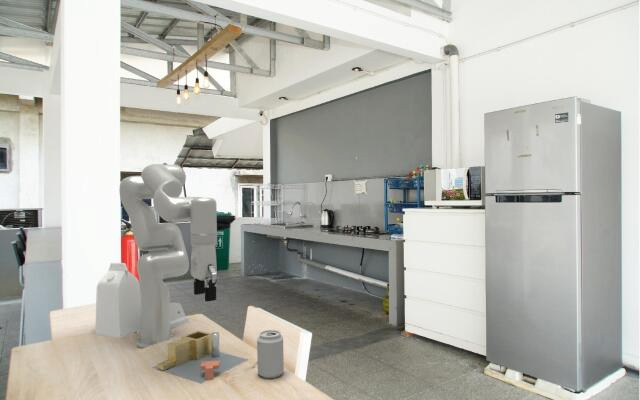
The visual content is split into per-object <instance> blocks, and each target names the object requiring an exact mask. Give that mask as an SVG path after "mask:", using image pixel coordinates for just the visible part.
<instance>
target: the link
mask: <svg viewBox="0 0 640 400" xmlns="http://www.w3.org/2000/svg"><path fill="white" fill-rule="evenodd" d="M211 334H212V332H211V333H210V332H207V331H201V330H196V331H192V332H191V333H188V334H185V335H182V336H181V337H180V339H178V340H174V341H171V342H169V343H167V345H166V346H167V347H166V348H167V349H166V350H167V359H166V360H163V361H161V362H158V363H157V364H156V366H157V368H158V369H161V370H165V369H168V368H170V367H172V366H175V367H176V366H178V365H181V364H183V363H185V362H188V361H190V360H192V359H194V360H199V359H201V358H203V357H206V356H208V355H210V354H212V342H211ZM158 369H157V370H158ZM161 370H160V371H161Z"/></svg>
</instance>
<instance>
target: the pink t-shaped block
mask: <svg viewBox="0 0 640 400" xmlns="http://www.w3.org/2000/svg"><path fill="white" fill-rule="evenodd" d="M219 367H220V361H205V362H202V363H201V366H200V370H205V380H207V381H209V380H211V381H212V380H213V379H214V378H215V377H214V375H213V369H219Z"/></svg>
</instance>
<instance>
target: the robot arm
mask: <svg viewBox="0 0 640 400" xmlns="http://www.w3.org/2000/svg"><path fill="white" fill-rule="evenodd" d="M140 174H141V175H130V176H127V177H125V178H123V179H122V180H121V182H120V183H119V189H118V190H119V198H120V202H121V204H122V206H123V208H124V210H125V212H126V213H127V216H128V217H129V221H130V226H131V229H132V233H133V238H134V241H135V244H136V247H137V249H138V250H139V251H141V252H143V251H144V252H148V253H145V254H143V255H141V256H140V257H139V258H137V259H138V260H137V262H136V269H137V274H138V275H137V276H138V280H139V283H140V294H141V329H140V330H138V331H136V333H137V334H139V335H140V338H139V339H138V340H137V341H136V345H137V347H139V348H141V349H145V348H147V347H150V346H154V345H155V344H156V345H157V344H159V343H162V342H166V341H168V340H170V339H172V338H175V337H176V336H175V335H174V334H172V332H171V331H172V329H171V325H170V303H171V294H170V289H169V287H168V286H167V284H166V283H165V282H164V279H169V278H174V277H175V278H176V277H181V276H183V275H185V274H187V272H188V271H189V268H190V275H191V277H192V278H193V295H195V296H197V295H204V301H205V302H207V303H208V302H213V301H217V280H218V279H217V277H218V273H217V272H218V271H217V252H216V251H217V250H216V245H218V230H217V229H218V225H217V224H218V223H217V221H218V220H217V217H218V215H217V214H218V213H217V211H218V210H217V201H216V199H215V198H213V197H203V196H201V197H200V196H181V194H182V191H183V187H184V186H185V184H186V182H187V181H186V179H187V178H186V177H187V176H186V172H185V170H184V169H183V168H182V167H181V165H180V166H179V165H177V164H162V163H161V164H159V163H154V164H149V165H147V166H145V167H144V168H143V169H142V171H141V173H140ZM143 200H152V204H153V207H154V210H155V212H156V214H157V215H159V217H160V218H162V219H163V221H165V222H161V223H160V222H158V221H157V219H156V215H155V212H154V210H153V209H152V207H150V205H149V204H148V203H146V202H145V201H143ZM187 222H189V223H190V224H189V225H190V226H189V227H190V246H191V251H190V252H191V254H190V262H189V256H188V253H187V249H186V246H185V245H186V244H185V241H184V238H183V234H182V231H181V230H180V228H179V226H178V225H177V224H176V223H187ZM162 250H163V251H162ZM164 250H165V251H164ZM152 251H153V252H152Z"/></svg>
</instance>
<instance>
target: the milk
mask: <svg viewBox="0 0 640 400" xmlns="http://www.w3.org/2000/svg"><path fill="white" fill-rule="evenodd" d="M95 303H96V305H95V326H94V327H95V330H94V332H95V333H94V334H95V335H96V334H99V335H98V336H103V335H105V337H111V338H116V339H117V338H119V339H121V338H124V337H126V336H128V335H131V334H133V333H135V332H136V333H137V331H138V330H140V329H141V291H140V281H139V278H137V277H136V276H135V275H134V274H133V273H132V272H131V271H129V269H128V266H127V264H126V263H125V262H110V264H109V268H108V270H107V271H106V273H105V274H104V275H103V276H102V278H101V279H100V280H99V281H98V283H97V285H96V302H95Z"/></svg>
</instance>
